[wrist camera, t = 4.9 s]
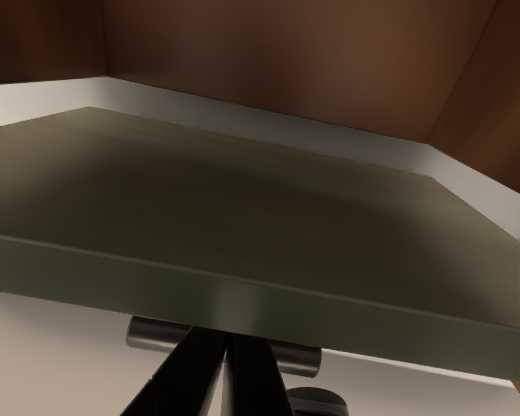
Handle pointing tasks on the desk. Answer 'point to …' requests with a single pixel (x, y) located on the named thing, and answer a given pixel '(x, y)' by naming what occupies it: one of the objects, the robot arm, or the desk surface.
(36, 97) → the desk surface
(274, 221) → the drawer
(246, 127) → the desk surface
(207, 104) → the desk surface
